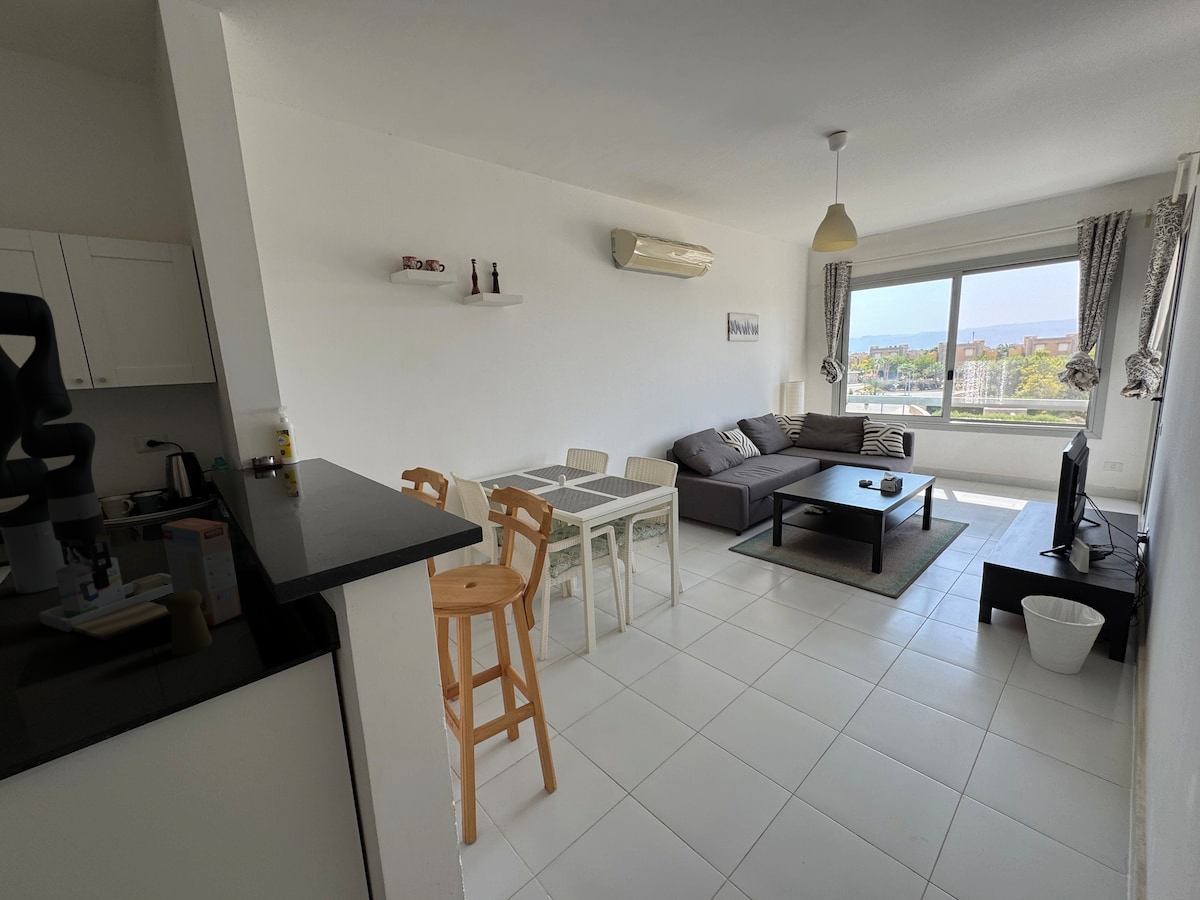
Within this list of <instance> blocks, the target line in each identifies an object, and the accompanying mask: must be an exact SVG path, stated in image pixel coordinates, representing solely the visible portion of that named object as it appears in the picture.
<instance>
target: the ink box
mask: <svg viewBox="0 0 1200 900" xmlns="http://www.w3.org/2000/svg"><path fill="white" fill-rule="evenodd" d="M110 559H111V563H112V568H109V569H108V570H107V574H108V579H109V583H110V585H109V586H108V587H106V588H103V589H99V590H98V589H95V587H94V582H93V578H92V573H91V571H90V569H89V568H88V566H84V565H83V564H82V562H80V563H77V564H73V565H70V566H69V565H68V566H67V567H64V568H60V569H58V570H57V571H56V572H55V574H56V578H57V583H58V592H59V596H60V602H61V605H62V606H63V611H64V615H65V618H68V619H70V618H73V617H75V616H78V615H81V614H84V613H87V612H90V611H93V610H96V609H99V608H101V607H104V606H107V605H110V604H113V603H116V602H119V601H122V600H125V599H126V596H125V595H124V590H123V585H124V584H123V581H122V577H121V572H120V567H119V561H118V558H117V557H114V556H110ZM99 565H101V564H100V563H99Z"/></svg>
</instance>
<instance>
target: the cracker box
mask: <svg viewBox="0 0 1200 900" xmlns="http://www.w3.org/2000/svg"><path fill="white" fill-rule="evenodd" d="M160 526H161V527H160V528H161V532H162V537H163V543H164V549H165V553H166V559H167V565H168V570H169V575H170V576H171V582H172V587H173V593H174V594H175V593H178V592H181V591H185V590H197V591H198V592H200V594H201V596H202V602H201V604H200V609H201V611H202V614H203V616H204V619H205V622H206V624H207V626H211V627H216V626H217V625H220V624H222V623H224V622H226V621H229V620H231V619H234V618H237V617H239V616H241V615H243V614H242V613H243V612H242V607H241V601H240V596H239V595H240V594H239V590H238V589H239V588H238V584H237V583H238V582H237V577H236V570H235V564H234V558H233V553H232V552H233V551H232V545H231V539H230V534H229V526H228V523H227V522H221V521H214V520H209V519H201V518H196V517H195V518H194V517H189V518H182V519H179V520H175V521H171V522H167V523H163V524H161V525H160Z"/></svg>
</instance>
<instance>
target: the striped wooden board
mask: <svg viewBox="0 0 1200 900" xmlns="http://www.w3.org/2000/svg"><path fill="white" fill-rule="evenodd" d="M167 614H170V612H168V610H167V609H166V605H163V604H158V603H157V602H156V603H154V602H148V601H142V602H139V603H136V604H134V605H131V606H128V607H125V608H122V609H120V610H117V611H114V612H111V613H108V614H106V615H103V616H100V617H97V618H94V619H92V620H89V621H86V622H83V623H81V624H78V625H75V626H73V630H74V631H73V632H76V631H77V632H76V633H79V632H80V633H79V634H81V633H84V634H87V635H91V636H95V637H98V638H101V639H105V638H107V637H110V636H113V635H116V634H118V633H121V632H123V631H126V630H128V629H131V628H133V627H135V626H138V625H140V624H143V623H146V622H148V621H151V620H153V619H156V618H159V617H161V616H164V615H167ZM84 634H83V635H84ZM87 635H86V636H87Z"/></svg>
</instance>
